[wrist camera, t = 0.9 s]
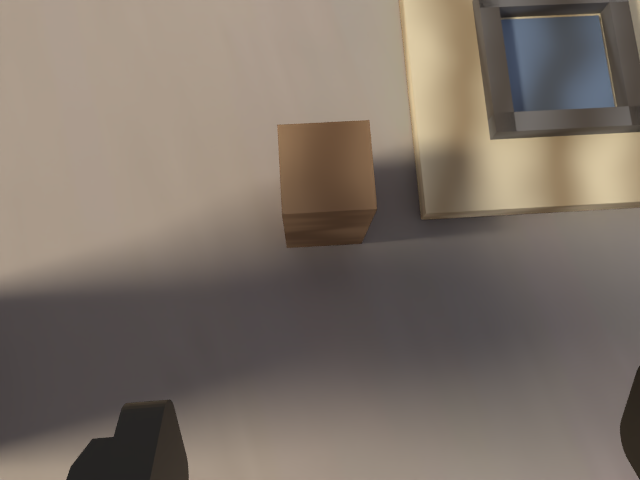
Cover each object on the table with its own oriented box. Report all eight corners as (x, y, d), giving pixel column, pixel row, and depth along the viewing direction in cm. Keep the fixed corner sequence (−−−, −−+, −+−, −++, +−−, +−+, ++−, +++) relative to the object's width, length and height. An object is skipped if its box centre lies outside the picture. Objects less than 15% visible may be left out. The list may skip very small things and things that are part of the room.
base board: (421, 219, 37) (430, 208, 34) (394, -41, 41) (400, -69, 38) (708, 203, 38) (739, 190, 35) (656, -51, 41) (680, -80, 39)
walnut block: (286, 247, 36) (282, 214, 29) (282, 176, 37) (277, 125, 30) (361, 243, 37) (377, 209, 29) (355, 172, 37) (369, 120, 30)
